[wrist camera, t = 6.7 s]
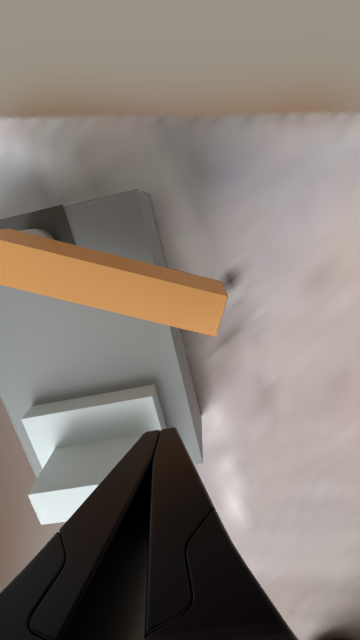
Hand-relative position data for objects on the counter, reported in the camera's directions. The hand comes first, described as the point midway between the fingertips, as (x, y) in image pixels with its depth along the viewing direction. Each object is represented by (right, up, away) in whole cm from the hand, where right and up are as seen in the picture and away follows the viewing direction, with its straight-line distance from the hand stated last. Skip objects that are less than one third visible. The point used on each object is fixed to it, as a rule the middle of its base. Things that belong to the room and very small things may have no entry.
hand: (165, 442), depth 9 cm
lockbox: (-5, +2, +13) cm, 14 cm away
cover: (-4, -3, +10) cm, 11 cm away
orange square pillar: (-2, +6, +7) cm, 9 cm away
